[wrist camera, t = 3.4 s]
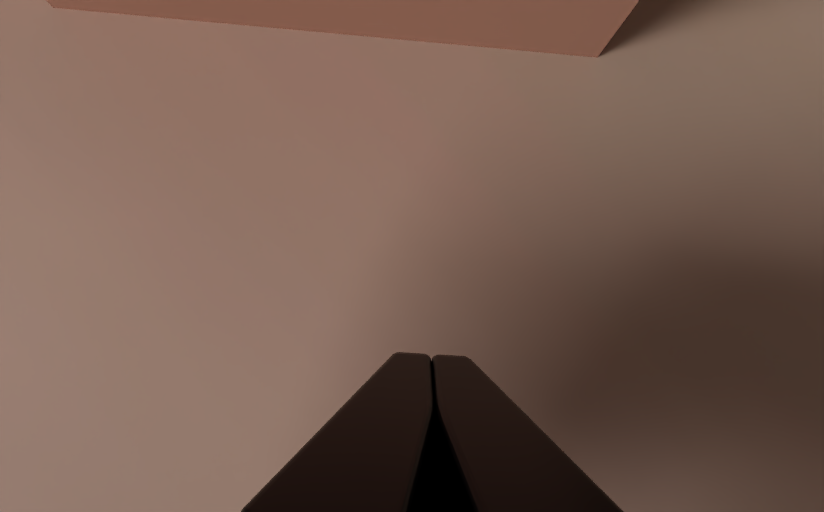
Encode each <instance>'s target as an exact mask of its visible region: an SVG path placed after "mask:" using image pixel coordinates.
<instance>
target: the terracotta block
mask: <svg viewBox="0 0 824 512" xmlns="http://www.w3.org/2000/svg"><path fill="white" fill-rule="evenodd" d="M46 1H47V2H48V3H49V4H50V5H51V6H52V7H53V8H63V9H74V10H85V11H96V12H107V13H118V14H129V15H140V16H150V17H161V18H172V19H183V20H194V21H205V22H216V23H227V24H238V25H249V26H260V27H271V28H282V29H293V30H304V31H315V32H325V33H336V34H347V35H358V36H369V37H380V38H391V39H402V40H413V41H424V42H435V43H446V44H457V45H468V46H479V47H490V48H500V49H511V50H522V51H533V52H544V53H555V54H566V55H577V56H588V57H598V56H599V54H600V53H601V52H602V50H603V49H604V48H605V46H606V45H607V44H608V42H609V41H610V40H611V38H612V37H613V35H614V34H615V33H616V31H617V30H618V29H619V27H620V26H621V25H622V23H623V22H624V20H625V19H626V18H627V16H628V15H629V14H630V12H631V11H632V10H633V8H634V7H635V5H636V4H637V3H638V1H639V0H46Z"/></svg>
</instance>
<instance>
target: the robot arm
mask: <svg viewBox="0 0 824 512" xmlns="http://www.w3.org/2000/svg"><path fill="white" fill-rule="evenodd" d="M241 512H623V511H622V510H621V509H620V508H619V507H618V506H617V505H616V504H615V503H614V502H613V501H612V500H611V499H610V498H609V497H608V496H607V495H606V494H605V493H604V492H603V491H602V490H601V489H600V488H599V487H598V486H597V485H596V484H595V483H594V482H593V481H592V480H591V479H590V478H589V477H588V476H587V475H586V474H585V473H584V472H583V471H582V470H581V469H580V468H579V467H578V466H577V465H576V464H575V463H574V462H573V461H572V460H571V459H570V458H569V457H568V456H567V455H566V454H565V453H564V452H563V451H562V450H561V449H560V448H559V447H558V446H557V445H556V444H555V443H554V442H553V441H552V440H551V439H550V438H549V437H548V436H547V435H546V434H545V433H544V432H543V431H542V430H541V429H540V428H539V427H538V426H537V425H536V424H535V423H534V422H533V421H532V420H531V419H530V418H529V417H528V416H527V415H526V414H525V413H524V412H523V411H522V410H521V409H520V408H519V407H518V406H517V405H516V404H515V403H514V402H513V401H512V400H511V399H510V398H509V397H508V396H507V395H506V394H505V393H504V392H503V391H502V390H501V389H500V388H499V387H498V386H497V385H496V384H495V383H494V382H493V381H492V380H491V379H490V378H489V377H488V376H487V375H486V374H485V373H484V372H483V371H482V370H481V369H480V368H479V367H478V366H477V365H476V364H475V363H474V362H473V361H472V360H471V359H469V358H468V357H466V356H453V355H436V356H434V357H433V358H432V360H431V358H430V357H429V356H428V355H427V354H420V353H403V352H397V353H395V354H393V355H392V356H391V357H390V358H389V359H388V360H387V361H386V362H385V363H384V364H383V365H382V366H381V367H380V368H379V369H378V370H377V371H376V372H375V373H374V374H373V375H372V377H371V378H370V379H369V380H368V381H367V382H366V383H365V384H364V385H363V386H362V387H361V388H360V389H359V390H358V391H357V392H356V393H355V394H354V395H353V396H352V397H351V398H350V399H349V400H348V401H347V402H346V403H345V404H344V405H343V406H342V407H341V408H340V409H339V410H338V411H337V412H336V414H335V415H334V416H333V417H332V418H331V419H330V420H329V421H328V422H327V423H326V424H325V425H324V426H323V427H322V428H321V429H320V430H319V431H318V432H317V433H316V434H315V435H314V436H313V437H312V438H311V439H310V440H309V441H308V442H307V443H306V444H305V445H304V446H303V447H302V448H301V449H300V450H299V452H298V453H297V454H296V455H295V456H294V457H293V458H292V459H291V460H290V461H289V462H288V463H287V464H286V465H285V466H284V467H283V468H282V469H281V470H280V471H279V472H278V473H277V474H276V475H275V476H274V477H273V478H272V479H271V480H270V481H269V482H268V483H267V484H266V485H265V486H264V487H263V489H262V490H261V491H260V492H259V493H258V494H257V495H256V496H255V497H254V498H253V499H252V500H251V501H250V502H249V503H248V504H247V505H246V506H245V507H244V508H243V509H242V511H241Z"/></svg>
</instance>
